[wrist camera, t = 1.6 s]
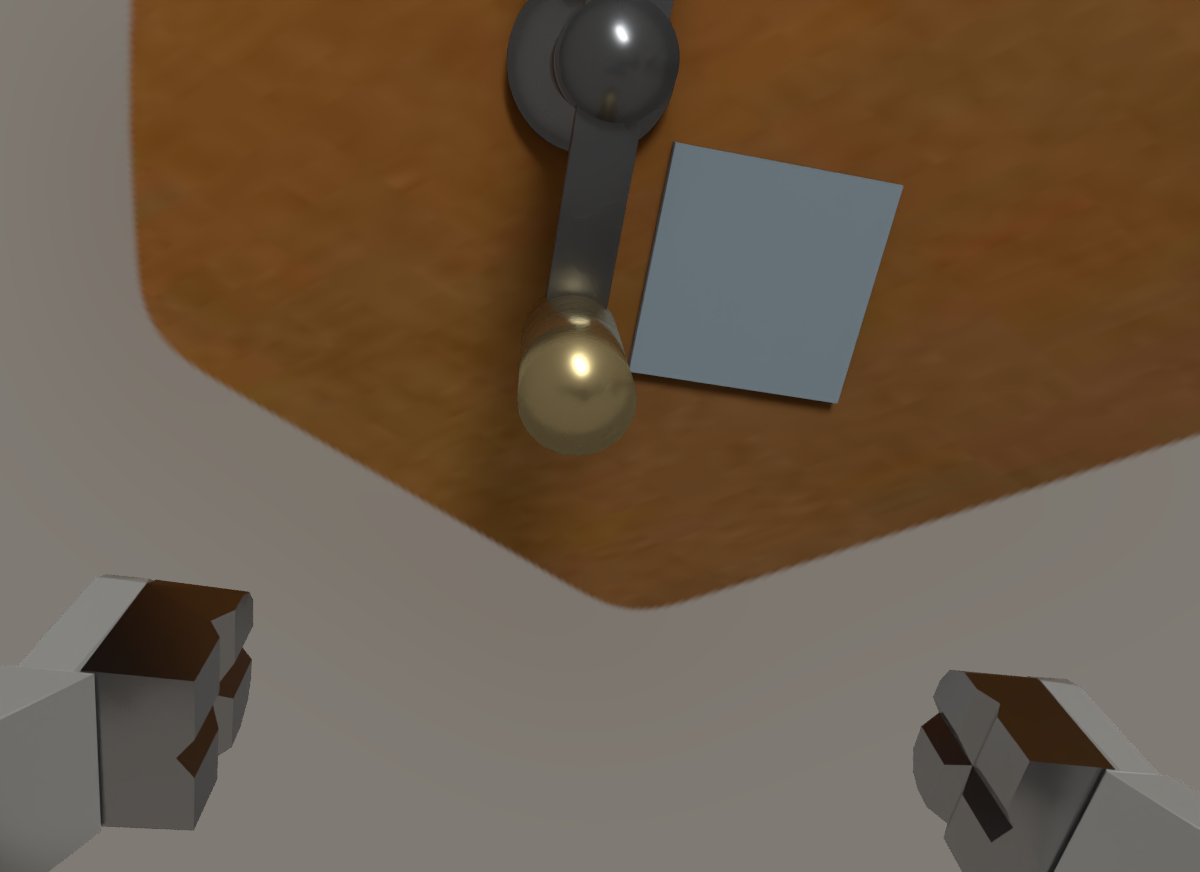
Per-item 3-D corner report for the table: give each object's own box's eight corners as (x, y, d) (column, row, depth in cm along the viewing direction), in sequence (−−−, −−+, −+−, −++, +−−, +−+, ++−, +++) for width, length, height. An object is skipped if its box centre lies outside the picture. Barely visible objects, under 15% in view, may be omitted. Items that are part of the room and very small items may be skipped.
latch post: (689, -9, 30) (761, -50, 20) (655, 166, 32) (705, 204, 23) (520, -45, 29) (511, -105, 20) (496, 137, 32) (479, 163, 22)
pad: (898, 184, 33) (903, 186, 33) (833, 399, 37) (837, 403, 36) (673, 141, 32) (675, 142, 32) (627, 367, 35) (628, 371, 35)
